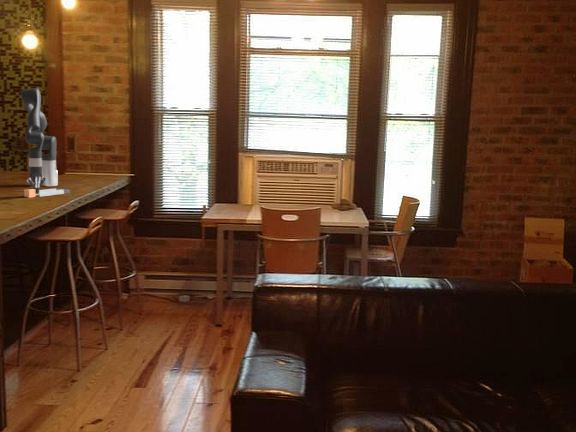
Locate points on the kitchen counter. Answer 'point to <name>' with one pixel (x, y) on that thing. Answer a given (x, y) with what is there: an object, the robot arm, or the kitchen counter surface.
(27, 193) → the block
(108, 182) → the kitchen counter surface
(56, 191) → the channel
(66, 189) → the tray
